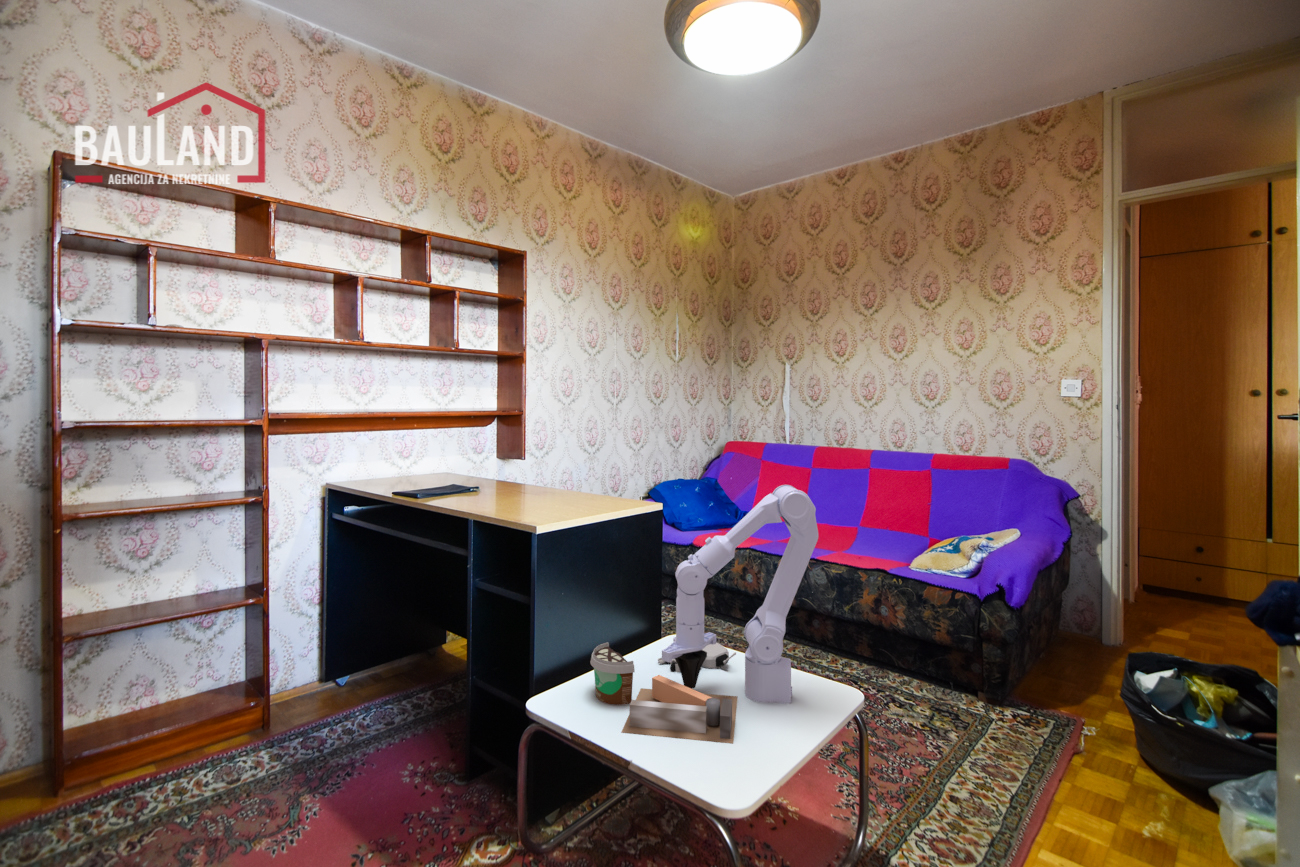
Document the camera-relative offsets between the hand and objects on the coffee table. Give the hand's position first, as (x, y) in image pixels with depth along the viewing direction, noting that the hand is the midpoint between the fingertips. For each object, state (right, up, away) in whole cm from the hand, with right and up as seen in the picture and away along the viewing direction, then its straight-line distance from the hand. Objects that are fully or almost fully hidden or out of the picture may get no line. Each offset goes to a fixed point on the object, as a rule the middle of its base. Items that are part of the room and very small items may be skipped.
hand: (689, 686), depth 125 cm
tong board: (-2, -3, -8) cm, 9 cm away
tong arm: (-1, -2, -7) cm, 7 cm away
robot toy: (+3, -3, +16) cm, 16 cm away
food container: (-17, -3, -1) cm, 17 cm away
